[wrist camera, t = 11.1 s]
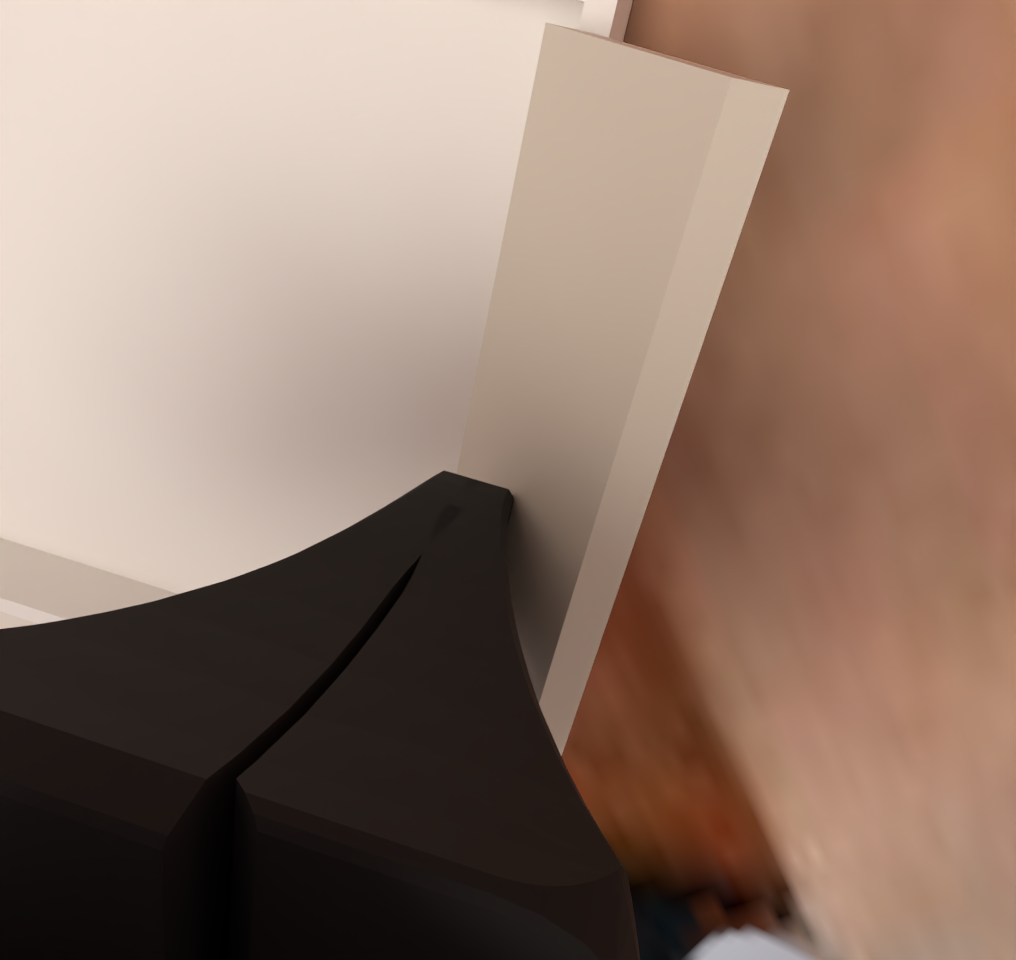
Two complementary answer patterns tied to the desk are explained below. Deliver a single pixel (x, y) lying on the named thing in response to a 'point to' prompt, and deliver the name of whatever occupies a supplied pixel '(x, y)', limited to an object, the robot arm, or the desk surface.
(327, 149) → the carton
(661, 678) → the desk surface
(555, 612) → the flap
